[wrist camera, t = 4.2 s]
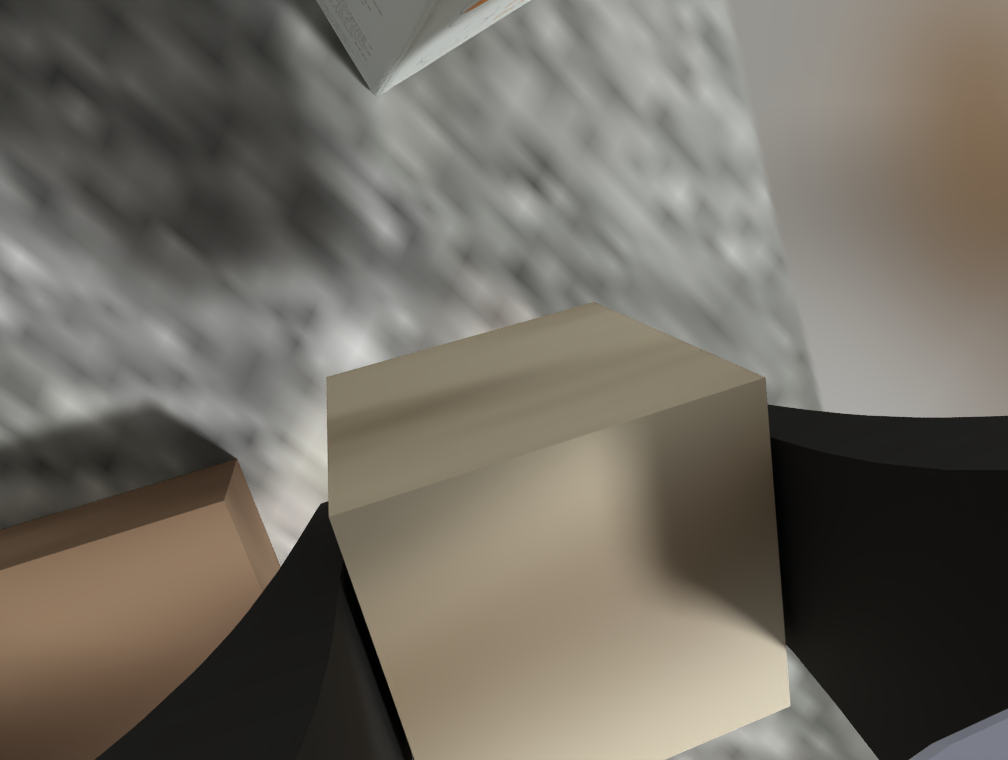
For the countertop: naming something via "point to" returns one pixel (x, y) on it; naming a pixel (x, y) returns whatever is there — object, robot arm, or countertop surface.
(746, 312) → the countertop surface
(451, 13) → the small box
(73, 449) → the countertop surface
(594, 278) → the countertop surface
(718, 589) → the maple cube
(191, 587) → the walnut block
